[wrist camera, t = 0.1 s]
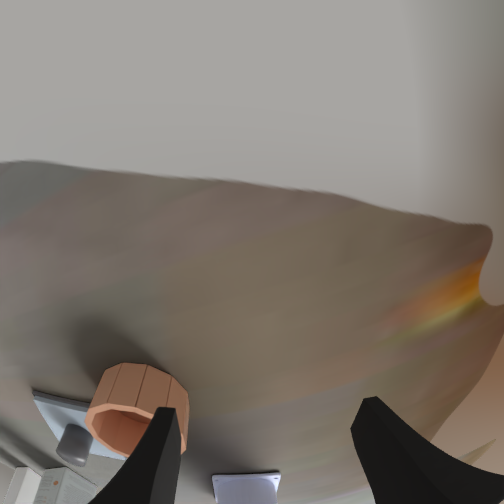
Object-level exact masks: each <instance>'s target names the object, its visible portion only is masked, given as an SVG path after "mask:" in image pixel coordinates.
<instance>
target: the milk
mask: <svg viewBox="0 0 504 504" xmlns="http://www.w3.org/2000/svg"><path fill="white" fill-rule="evenodd" d="M41 478H42V477H41V476H40V475H39V474H37V473H36V472H34V471H33V470H32V469H30V468H29V467H17V468H16V470H15V473H14V475H13V478H12V480H11V483H10V485H9V488H8V490H7V493H6V496H5V498H4V501H3V504H33V502H34V499H35V496H36V493H37V490H38V487H39V484H40V481H41Z"/></svg>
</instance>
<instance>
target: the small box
mask: <svg viewBox="0 0 504 504" xmlns="http://www.w3.org/2000/svg"><path fill="white" fill-rule="evenodd" d="M96 492H97V486H96V485H94V484H93V483H91V482H89V481H88V480H86V479H84V478H83V477H81V476H80V475H78V474H77V473H75V472H74V471H72V470H70V469H69V468H67V467H62V468H54V469H45V470H44V472H43V475H42V478H41V481H40V484H39V487H38V490H37V493H36V496H35V499H34V502H33V504H88V503H89V502H90V501H91V500H92V499H93V498H94V497H95V496H96Z"/></svg>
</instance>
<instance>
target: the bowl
mask: <svg viewBox="0 0 504 504" xmlns="http://www.w3.org/2000/svg"><path fill="white" fill-rule="evenodd" d="M158 407H171V408H176V413H177V418H178V423H179V428H180V433H181V438H182V439H181V454H182V453H183V452H184V451H185V450H186V446H187V434H188V422H189V412H190V405H189V399H188V392H187V391H186V390H185V389H184V388H183V387H182V386H181V385H180V384H179V383H178V382H177V381H176V379H175V378H174V377H173V376H171V375H169V374H167V373H165V372H162V371H160V370H158V369H156V368H154V367H152V366H150V365H148V366H147V364H134V363H120V364H118V365H115V366H113V367H111V368H108V369H106V370H105V371H104V374H103V376H102V378H101V380H100V383H99V385H98V387H97V390H96V392H95V394H94V397H93V399H92V401H91V404H90V406H89V409H88V411H87V414H86V417H85V420H84V422H85V424H86V426H87V428H88V430H89V431H90V433H91V435H92V437H93V438H95V439H96V440H97V441H98V442H100V443H101V444H102V445H104V446H105V447H106V448H108V449H109V450H111V451H113V452H115V453H117V454H120V455H122V456H125V457H127V458H128V457H129V456H130V455H131V453H132V452H133V450H134V449H135V447H136V446H137V444H138V442H139V441H140V439H141V438H142V436H143V434H144V432H145V431H146V429H147V427H148V425H149V423H150V422H151V420H152V418H153V416H154V413H155V411H156V409H157V408H158Z"/></svg>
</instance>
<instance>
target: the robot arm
mask: <svg viewBox="0 0 504 504" xmlns="http://www.w3.org/2000/svg"><path fill="white" fill-rule="evenodd" d="M350 429H351V433H352V438H353V442H354V446H355V449H356V452H357V455H358V457H359V460H360V462H361V465H362V467H363V469H364V472H365V474H366V477H367V479H368V482H369V484H370V487H371V489H372V492H373V495H374V499H375V503H376V504H499V503H500V502H501V501H503V500H504V475H500V474H495V473H491V472H487V471H484V470H481V469H478V468H476V467H473V466H471V465H468V464H466V463H464V462H462V461H460V460H458V459H456V458H454V457H452V456H450V455H448V454H447V453H445V452H444V451H442V450H440V449H439V448H437V447H436V446H434V445H433V444H431V443H430V442H429V441H427V440H426V439H425V438H423V437H422V436H421V435H420V434H418V433H417V432H416V431H415V430H413V429H412V428H411V427H410V426H409V425H408V424H406V423H405V422H404V421H403V420H402V419H401V418H400V417H399V416H398V415H397V414H395V413H394V412H393V411H392V410H391V409H390V408H389V407H388V406H387V405H386V404H385V403H384V402H383V401H381V400H380V399H379V398H378V397H377V396H375V397H370V398H364V399H363V401H362V404H361V406H360V408H359V411H358V413H357V415H356V417H355V420H354V422H353V424H352V426H351V428H350ZM181 439H182V438H181V433H180V428H179V423H178V418H177V413H176V408H171V407H158V408H157V409H156V411H155V413H154V416H153V418H152V420H151V422H150V423H149V425H148V427H147V429H146V431H145V432H144V434H143V436H142V438H141V439H140V441H139V442H138V444H137V446H136V447H135V449H134V450H133V452H132V453H131V455H130V456H129V457H128V459H127V460H126V462H125V463H124V464H123V466H122V467H121V468H120V470H119V471H118V472H117V473H116V475H115V476H114V477H113V478H112V479H111V481H110V482H109V483H108V484H107V485H106V486H105V487H104V488H103V489H102V490H101V491H100V492H99V493H98V494H97V495H96V496H95V497H94V498H93V499H92V500H91V501H90V502H89V503H88V504H174V500H175V493H176V487H177V480H178V474H179V468H180V461H181ZM280 477H281V474H280V473H264V474H245V475H213V476H212V481H213V487H214V493H215V498H216V502H217V504H278V502H277V496H276V492H277V488H278V485H279V481H280Z"/></svg>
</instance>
